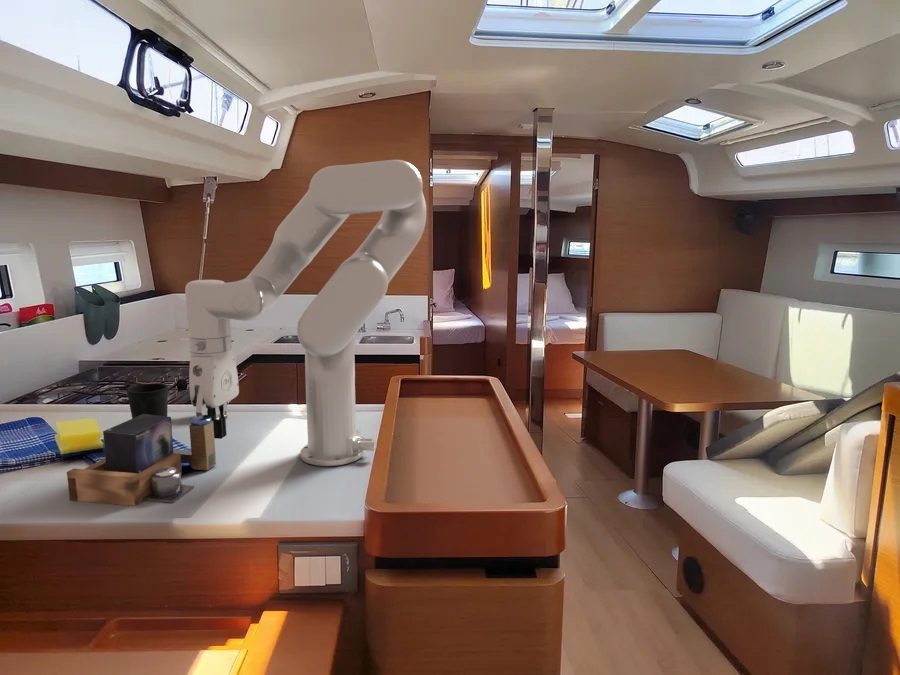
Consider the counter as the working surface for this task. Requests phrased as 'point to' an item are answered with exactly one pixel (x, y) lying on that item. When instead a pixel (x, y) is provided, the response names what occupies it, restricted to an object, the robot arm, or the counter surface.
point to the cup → (148, 399)
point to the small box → (138, 443)
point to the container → (200, 444)
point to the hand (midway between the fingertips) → (217, 436)
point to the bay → (115, 482)
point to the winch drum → (167, 486)
